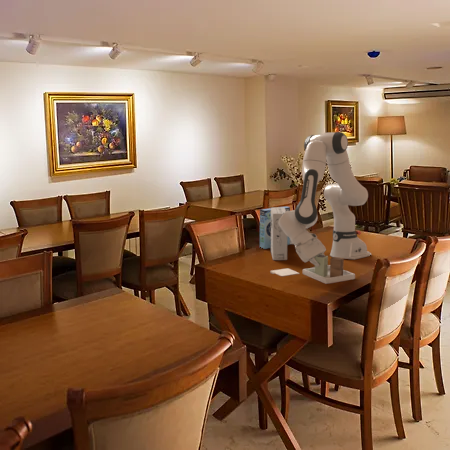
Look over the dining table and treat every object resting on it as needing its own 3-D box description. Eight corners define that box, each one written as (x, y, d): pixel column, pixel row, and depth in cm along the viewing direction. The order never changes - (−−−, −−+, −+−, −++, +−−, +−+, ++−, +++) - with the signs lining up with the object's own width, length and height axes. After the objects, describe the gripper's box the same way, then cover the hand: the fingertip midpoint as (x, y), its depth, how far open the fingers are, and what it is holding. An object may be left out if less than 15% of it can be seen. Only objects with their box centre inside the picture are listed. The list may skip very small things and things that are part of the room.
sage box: (318, 273, 237) (318, 254, 235) (327, 274, 234) (327, 255, 233) (314, 275, 233) (314, 256, 231) (323, 277, 231) (324, 257, 229)
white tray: (330, 271, 244) (330, 265, 243) (354, 280, 228) (355, 274, 227) (302, 275, 237) (302, 269, 236) (326, 285, 221) (326, 278, 220)
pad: (288, 270, 246) (288, 268, 246) (299, 275, 237) (299, 273, 237) (270, 272, 242) (270, 270, 242) (281, 278, 233) (281, 275, 233)
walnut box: (333, 275, 233) (334, 256, 231) (343, 277, 230) (343, 258, 229) (329, 278, 229) (330, 258, 228) (339, 279, 227) (339, 260, 225)
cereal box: (287, 260, 265) (287, 213, 261) (272, 260, 266) (272, 213, 261) (284, 250, 287) (284, 207, 282) (270, 250, 287) (270, 207, 282)
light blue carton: (284, 243, 305) (285, 206, 301) (290, 244, 301) (290, 207, 297) (259, 247, 295) (259, 209, 290) (264, 249, 290) (264, 210, 286)
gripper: (298, 241, 226) (317, 265, 222) (316, 233, 243) (335, 255, 239) (289, 249, 229) (308, 273, 226) (308, 241, 246) (326, 263, 242)
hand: (322, 264), depth 232 cm, fingers open, 7 cm apart
